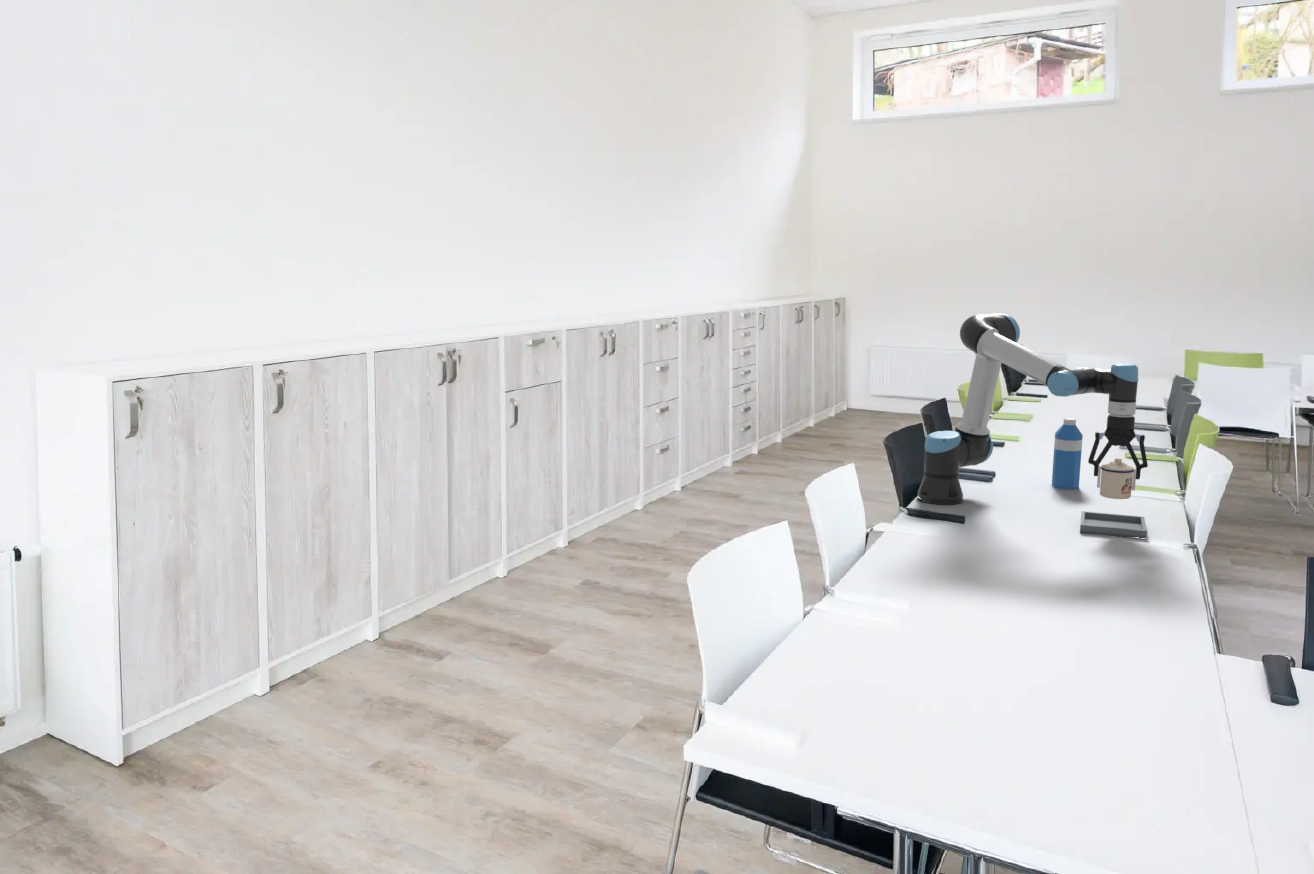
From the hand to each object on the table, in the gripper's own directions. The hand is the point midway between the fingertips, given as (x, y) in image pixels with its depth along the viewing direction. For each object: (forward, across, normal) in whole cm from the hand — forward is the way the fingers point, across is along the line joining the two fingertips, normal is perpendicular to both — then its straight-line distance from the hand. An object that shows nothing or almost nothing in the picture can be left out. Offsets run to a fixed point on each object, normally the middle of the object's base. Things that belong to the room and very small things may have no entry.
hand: (1115, 488), depth 299 cm
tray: (+13, 0, 0) cm, 13 cm away
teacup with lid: (+2, 0, 0) cm, 2 cm away
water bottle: (+13, -15, +57) cm, 60 cm away
